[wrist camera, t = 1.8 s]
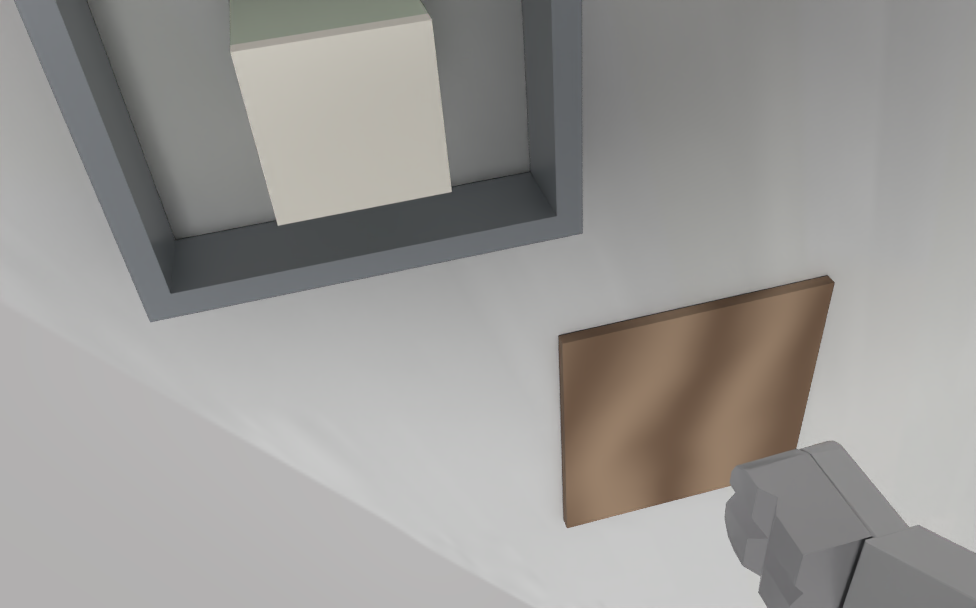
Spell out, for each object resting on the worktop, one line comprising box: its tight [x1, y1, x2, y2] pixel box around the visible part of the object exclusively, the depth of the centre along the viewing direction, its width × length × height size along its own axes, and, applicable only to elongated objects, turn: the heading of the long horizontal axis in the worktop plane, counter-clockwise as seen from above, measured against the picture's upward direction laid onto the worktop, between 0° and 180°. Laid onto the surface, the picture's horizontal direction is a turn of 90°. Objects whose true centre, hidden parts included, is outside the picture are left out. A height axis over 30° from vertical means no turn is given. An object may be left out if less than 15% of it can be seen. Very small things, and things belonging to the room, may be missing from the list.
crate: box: [14, 0, 583, 322], centre depth 27 cm, size 16×16×4 cm
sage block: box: [229, 0, 452, 226], centre depth 25 cm, size 5×5×8 cm
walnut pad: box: [559, 276, 834, 528], centre depth 44 cm, size 14×14×1 cm
